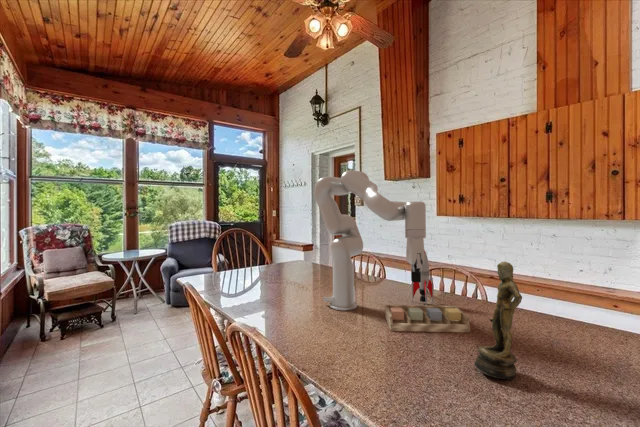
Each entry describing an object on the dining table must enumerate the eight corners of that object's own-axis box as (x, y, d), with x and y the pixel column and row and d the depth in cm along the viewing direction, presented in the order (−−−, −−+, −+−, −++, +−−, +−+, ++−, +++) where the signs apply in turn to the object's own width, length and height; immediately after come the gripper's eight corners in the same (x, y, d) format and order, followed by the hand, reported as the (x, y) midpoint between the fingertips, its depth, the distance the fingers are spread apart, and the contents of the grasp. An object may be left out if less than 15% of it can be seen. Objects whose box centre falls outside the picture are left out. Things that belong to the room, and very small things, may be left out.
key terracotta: (392, 319, 117) (392, 311, 117) (390, 315, 121) (390, 307, 121) (403, 319, 116) (403, 311, 116) (401, 315, 121) (401, 307, 121)
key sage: (410, 319, 116) (410, 311, 116) (408, 315, 121) (408, 307, 121) (422, 319, 116) (422, 311, 116) (419, 315, 120) (419, 308, 120)
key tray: (390, 330, 112) (390, 317, 112) (385, 317, 126) (385, 304, 126) (470, 332, 110) (470, 318, 110) (455, 318, 124) (455, 305, 124)
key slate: (429, 319, 116) (429, 311, 116) (426, 315, 120) (426, 308, 120) (441, 320, 115) (441, 312, 115) (438, 315, 120) (438, 308, 120)
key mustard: (449, 320, 115) (449, 312, 115) (445, 316, 120) (445, 308, 120) (461, 320, 115) (461, 312, 115) (456, 316, 119) (456, 308, 119)
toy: (432, 302, 145) (432, 238, 145) (437, 308, 137) (437, 240, 136) (411, 301, 146) (411, 238, 146) (415, 307, 138) (415, 240, 137)
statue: (466, 365, 87) (466, 260, 87) (503, 363, 88) (504, 259, 88) (491, 387, 77) (491, 267, 76) (532, 385, 78) (533, 266, 77)
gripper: (401, 232, 125) (402, 277, 126) (409, 235, 110) (410, 286, 111) (420, 232, 125) (421, 277, 125) (431, 235, 110) (431, 286, 110)
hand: (415, 281), depth 118 cm, fingers closed
